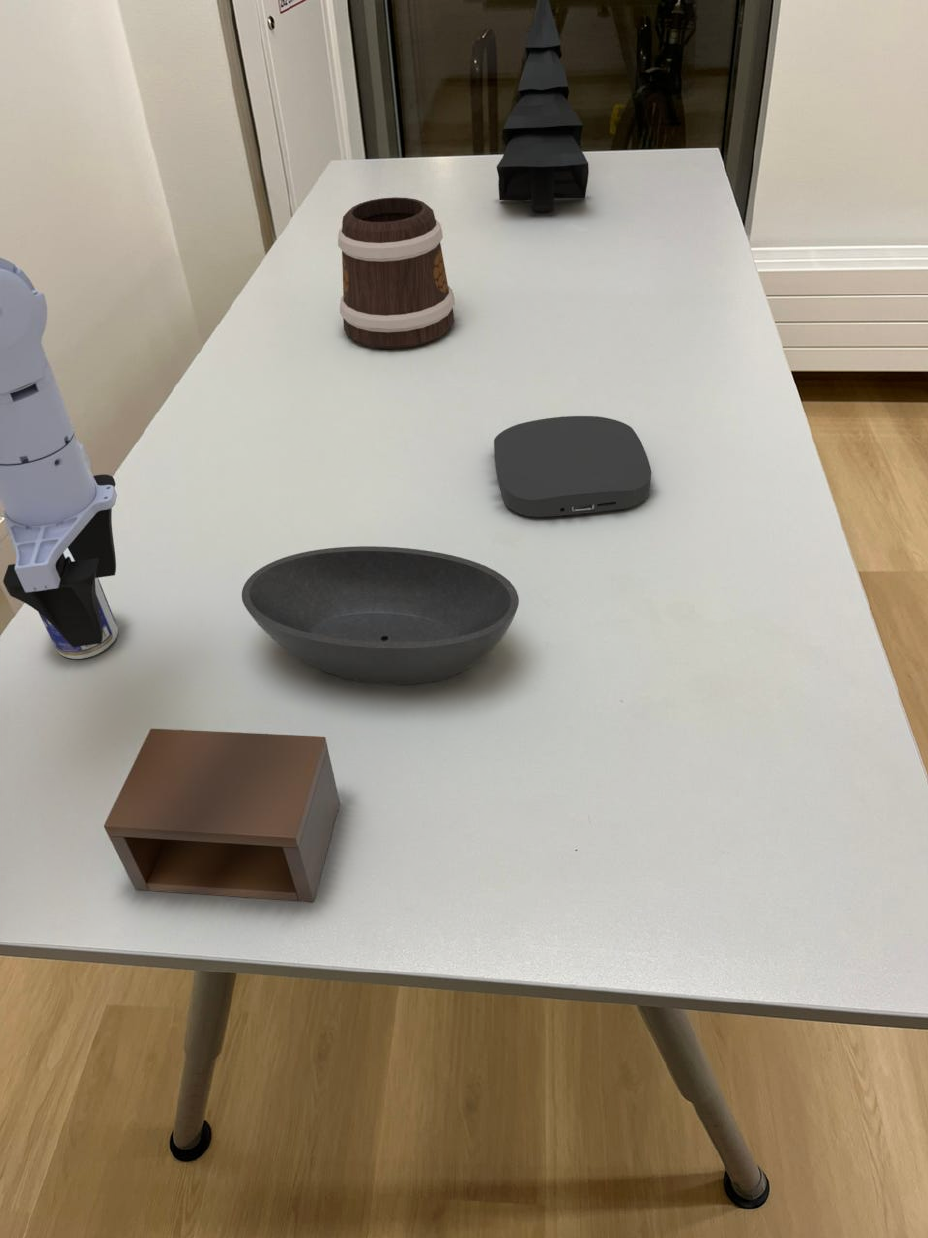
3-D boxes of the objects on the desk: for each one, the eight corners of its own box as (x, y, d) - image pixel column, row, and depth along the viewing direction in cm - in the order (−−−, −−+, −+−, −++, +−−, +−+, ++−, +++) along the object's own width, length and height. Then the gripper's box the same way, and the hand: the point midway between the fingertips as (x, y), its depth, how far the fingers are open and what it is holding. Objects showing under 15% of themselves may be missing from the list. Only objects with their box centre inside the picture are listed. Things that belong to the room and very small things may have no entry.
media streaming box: (490, 445, 102) (488, 421, 100) (625, 432, 102) (626, 407, 100) (507, 524, 91) (506, 498, 89) (658, 509, 91) (661, 482, 89)
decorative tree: (585, 222, 161) (587, 4, 158) (589, 191, 147) (591, -50, 143) (499, 225, 163) (499, 9, 159) (494, 195, 148) (494, -44, 145)
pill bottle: (63, 623, 83) (26, 541, 77) (123, 616, 83) (91, 533, 78) (49, 664, 79) (10, 581, 73) (113, 657, 79) (79, 573, 74)
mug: (449, 352, 119) (440, 230, 109) (331, 352, 121) (313, 232, 111) (466, 289, 134) (460, 177, 124) (361, 290, 136) (347, 179, 126)
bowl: (508, 719, 72) (505, 660, 67) (233, 691, 75) (216, 633, 71) (530, 615, 80) (529, 556, 76) (284, 595, 84) (270, 538, 80)
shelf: (134, 890, 62) (103, 826, 58) (176, 792, 68) (150, 728, 64) (314, 902, 61) (295, 837, 56) (340, 802, 67) (325, 736, 62)
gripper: (74, 495, 54) (141, 666, 63) (107, 380, 65) (159, 540, 74) (-52, 512, 54) (32, 682, 63) (1, 393, 65) (67, 553, 74)
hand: (95, 607), depth 68 cm, fingers open, 7 cm apart
